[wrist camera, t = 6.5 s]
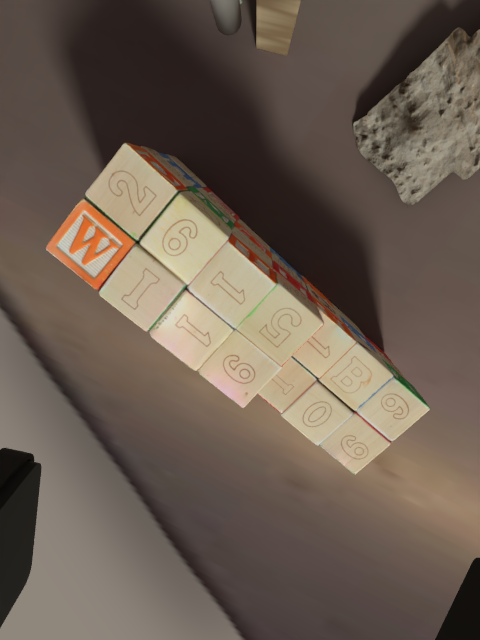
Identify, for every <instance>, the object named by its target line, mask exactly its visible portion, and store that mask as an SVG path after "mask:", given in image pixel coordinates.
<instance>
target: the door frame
mask: <svg viewBox="0 0 480 640" xmlns="http://www.w3.org/2000/svg"><path fill="white" fill-rule="evenodd" d="M300 2H301V0H257V24H256V48H258V49H262V50H266V51H270V52H274V53H278V54H282V55H287V54H288V50H289V46H290V42H291V38H292V34H293V30H294V26H295V22H296V18H297V14H298V10H299V6H300Z"/></svg>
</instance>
